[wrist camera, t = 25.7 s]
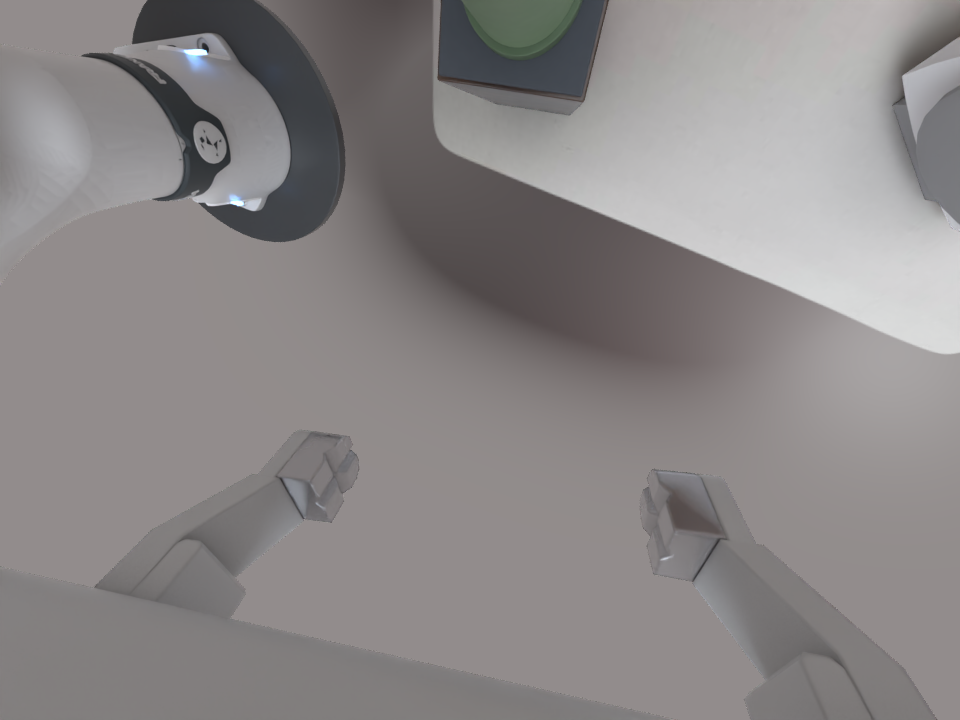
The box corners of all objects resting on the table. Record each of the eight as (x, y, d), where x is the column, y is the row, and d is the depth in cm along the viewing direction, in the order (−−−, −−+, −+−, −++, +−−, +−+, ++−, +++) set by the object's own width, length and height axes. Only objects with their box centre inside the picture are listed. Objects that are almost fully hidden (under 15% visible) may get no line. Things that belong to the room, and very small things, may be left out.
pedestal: (495, 103, 37) (436, 80, 19) (508, -3, 32) (448, -170, 14) (570, 115, 36) (583, 102, 18) (594, 8, 31) (645, -151, 13)
